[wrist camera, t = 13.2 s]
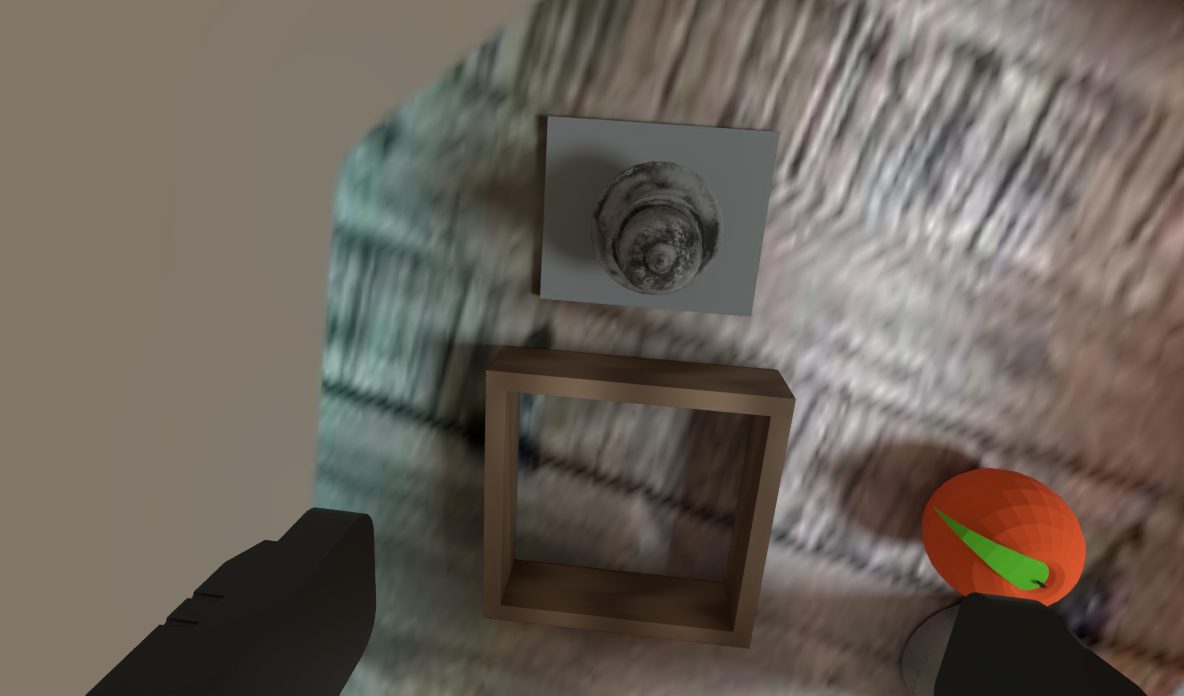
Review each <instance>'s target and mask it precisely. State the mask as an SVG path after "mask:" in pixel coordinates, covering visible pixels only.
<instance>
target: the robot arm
mask: <svg viewBox="0 0 1184 696" xmlns="http://www.w3.org/2000/svg"><path fill="white" fill-rule="evenodd" d="M375 613H376V584H375V555H374V529H373V522H372V519H371V517H370V516H369V515H368V514H363V513H356V512H348V511H340V510H332V509H324V508H311V509H310V510H308V511H307V512H306V513H305V514H304V515H303V516H302V517H301V518H300V519H299V520H298V521H297V522H296V523H295V524H294V525H293V526H292V527H291V528H290V529H289V530H288V531H287V532H286V533H285V534H284V535H283V536H282V537H281V538H280V539H279V540H278V541H270V540H264V541H262V542H261V543H259V544H257V545H255V546H253V547H251V548H250V549H248V550H247V551H244V552H242V553H241V554H239V555H237V556H235V557H234V558H232V559H230V560H228V561H226V562H225V563H224V564H223V565H222V566H220V567H219V568H218V569H217V570H216V571H215V572H214V573H213V574H212V575H211V576H210V577H209V578H208V579H207V580H206V581H205V582H204V583H203V584H202V585H201V586H200V587H199V588H198V589H196V590H195V591H194V594H193V597H192V598H191V599H190V598H187V599H186V600H185V601H184V602H183V603H182V604H181V605H180V606H178V607H177V608H176V609H175V610H174V611H173V612H172V613H171V614H170V615H169V616H168V617H167V620H166V623H165V624H164V625H159V626H158V627H156V628H155V629H154V630H153V631H152V632H151V633H150V634H149V635H148V636H147V637H146V638H145V639H144V640H143V641H142V642H141V643H140V644H139V645H138V646H137V647H136V648H134V649H133V650H132V652H130V653H129V654H128V655H127V656H126V657H125V658H124V659H123V660H122V661H121V662H120V663H119V664H118V665H117V666H116V667H114V668H113V669H112V670H111V671H110V672H109V673H108V674H107V675H106V676H105V677H104V678H103V679H102V680H101V681H100V682H99V683H98V684H97V685H96V686H95V687H94V688H93V689H92V690H90V691H89V692H88V693H87V694H86V695H85V696H339V695H340V693H341V691H342V690H343V688H344V686H345V684H346V683H347V681H348V679H349V677H350V676H351V674H352V672H353V671H354V669H355V667H356V665H357V664H358V662H359V660H360V658H361V657H362V655H363V653H364V651H365V649H366V646H367V644H368V641H369V639H370V636H371V632H372V629H373V625H374V620H375ZM901 666H902V673H903V678H904V681H905V683H906V685H907V688H908V690H909V692H910V694H911V696H1147V695H1146V694H1145V693H1144V692H1143V691H1142V689H1141V688H1140V687H1139V686H1138V685H1136V684H1135V683H1134V682H1132V681H1131V680H1130V679H1128V678H1127V677H1125V676H1124V675H1123V674H1121V673H1120V672H1119V671H1117V670H1116V669H1115V668H1113V667H1112V666H1111V665H1109V664H1108V663H1107V662H1105V661H1104V660H1103V659H1101V658H1100V657H1099V656H1097V655H1096V654H1095V653H1093V652H1092V651H1091V650H1089V649H1088V648H1087V647H1086V646H1085V645H1084V643H1083V642H1082V641H1081V640H1080V639H1079V638H1078V637H1077V636H1076V635H1075V633H1074V632H1073V631H1072V630H1070V629H1066V627H1065V626H1064V625H1063V624H1062V623H1061V622H1060V621H1059V619H1058V618H1057V617H1056V616H1055V615H1054V614H1053V613H1052V612H1051V610H1050V609H1049V608H1048V607H1047V606H1046V605H1044V604H1043V603H1041V602H1039V601H1037V600H1033V599H1025V598H1017V597H1009V596H1001V595H993V594H985V593H977V592H973V593H970V594H968V595H967V596H966V597H965V598H964V599H963V601H962V602H961V604H958V605H955V606H953V607H950V608H947V609H945V610H942V611H941V612H939V613H937V614H936V615H934V616H932V617H931V618H929V619H928V620H927V621H926V622H924V623H923V624H922V625H921V626H920V627H919V628H918V629H917V630H916V631H915V633H914V634H913V635H912V637H911V638H910V639H909V641H908V643H907V645H906V648H905V650H904V652H903V658H902V665H901Z"/></svg>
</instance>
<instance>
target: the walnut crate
mask: <svg viewBox="0 0 1184 696" xmlns="http://www.w3.org/2000/svg"><path fill="white" fill-rule="evenodd" d="M520 392H521V393H531V394H542V395H553V396H563V397H574V398H584V399H595V400H605V401H616V402H626V403H637V404H647V405H658V406H669V407H679V408H690V409H700V410H711V411H721V412H732V413H742V414H752V418H751V424H750V430H749V436H748V442H747V448H746V454H745V460H744V466H743V473H742V479H741V485H740V491H739V497H738V503H737V509H736V515H735V521H734V527H733V534H732V540H731V546H730V552H729V558H728V564H727V570H726V576H725V582H724V583H719V582H710V581H701V580H692V579H683V578H674V577H665V576H656V575H647V574H638V573H629V572H620V571H611V570H602V569H593V568H584V567H575V566H566V565H557V564H548V563H539V562H530V561H521V560H515V536H516V506H517V476H518V446H519V416H520ZM795 401H796V399H795V397H794V395H793V394H792V392H791V390H790V389H789V387H788V386H787V384H786V382H785V381H784V379H783V377H782V376H781V374H780V373H779V371H778V370H768V369H757V368H746V367H735V366H724V365H713V364H702V363H690V362H679V361H668V360H657V359H646V358H635V357H624V356H613V355H602V354H591V353H580V352H569V351H558V350H547V349H536V348H525V347H514V346H503V348H502V349H501V350H500V352H499V353H498V355H497V356H496V357H495V359H494V360H493V361H492V363H491V364H490V366H489V367H488V368H487V370H486V412H485V484H484V555H483V618H491V619H499V620H508V621H516V622H525V623H534V624H542V625H551V626H559V627H568V628H576V629H585V630H594V631H602V632H611V633H619V634H628V635H637V636H645V637H654V638H662V639H671V640H680V641H688V642H697V643H705V644H714V645H723V646H731V647H740V648H748V649H749V647H750V641H751V636H752V631H753V625H754V620H755V615H756V609H757V604H758V598H759V593H760V588H761V582H762V577H763V572H764V566H765V561H766V556H767V550H768V545H769V540H770V534H771V529H772V524H773V518H774V513H775V508H776V502H777V497H778V491H779V486H780V481H781V475H782V470H783V465H784V459H785V454H786V449H787V443H788V438H789V433H790V427H791V422H792V417H793V411H794V406H795Z"/></svg>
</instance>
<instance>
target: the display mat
mask: <svg viewBox="0 0 1184 696" xmlns="http://www.w3.org/2000/svg"><path fill="white" fill-rule="evenodd" d="M778 139H779V132H772V131H758V130H743V129H729V128H714V127H699V126H685V125H670V124H656V123H641V122H627V121H612V120H598V119H583V118H568V117H554V116H548V124H547V148H546V172H545V195H544V219H543V243H542V267H541V290H540V298H541V299H553V300H565V301H576V302H588V303H600V304H611V305H623V306H635V307H646V308H658V309H670V310H681V311H693V312H705V313H716V314H728V315H739V316H751V313H752V307H753V300H754V294H755V287H756V281H757V274H758V268H759V261H760V255H761V248H762V242H763V236H764V229H765V223H766V216H767V210H768V203H769V197H770V190H771V184H772V177H773V171H774V164H775V158H776V152H777V145H778ZM652 161H659V162H672V163H675V164H678V165H681V166H684V167H686V168H689V169H690V170H692V171H693V172H694V173H696V174H697V175H699V176H700V177H702V178H703V179H704V180H705V182H706V183H707V184H708V185H709V186H710V188H711V189H712V190H713V191H714V193H715V195H716V198H717V200H718V202H719V204H720V207H721V211H722V218H723V224H724V228H723V236H722V244H721V246H720V249H719V251H718V254H717V256H716V259H715V261H714V262H713V263H712V265H711V266H710V267H709V269H708V270H707V272H706V273H705V274H704V275H703V276H702V277H700V278H699V279H698V280H697V281H696V282H694V283H693V284H692V285H690V286H688V287H686V288H684V289H682V290H679V291H677V292H674V293H669V294H663V295H649V294H641V293H638V292H635V291H632V290H629V289H626V288H625V287H623V286H622V285H620V284H619V283H617V282H616V281H614V280H613V279H612V278H611V277H610V276H609V275H608V274H607V272H606V271H605V270H604V269H603V268H602V267H601V265H600V263H599V261H598V259H597V257H596V255H595V253H594V250H593V245H592V240H591V235H590V234H591V217H592V214H593V211H594V208H595V204H596V201H597V199H598V198H599V196H600V195H601V193H602V192H603V190H604V188H605V187H606V185H608V184H609V183H610V182H611V181H612V180H613V179H614V178H615V177H616V176H617V175H618V174H619V173H621V172H623V171H625V170H627V169H629V168H631V167H633V166H635V165H638V164H643V163H647V162H652Z"/></svg>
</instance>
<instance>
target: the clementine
mask: <svg viewBox="0 0 1184 696" xmlns="http://www.w3.org/2000/svg"><path fill="white" fill-rule="evenodd" d="M922 541H923V544H924V546H925V549H926V552H927V555H928V557H929V559H930V561H931V563H932V565H933V566H934V568H935V569H936V570H937V572H938V573H939V574H940V576H941V577H942V578H943V579H944V580H945V581H946V582H947V583H948V584H949V585H950V586H951V587H952V588H954V589H955V590H957V591H958V592H959V593H961V594H962V595H963V596H965V597H966V596H967V595H968V594H970V593H973V592H977V593H985V594H993V595H1001V596H1009V597H1017V598H1025V599H1033V600H1037V601H1039V602H1041V603H1043V604H1044V605H1046V606H1048V605H1050V604H1052V603H1054V602H1056V601H1058V600H1060V599H1061V598H1062V597H1064V596H1065V595H1066V594H1067V593H1069V592H1070V591H1071V589H1072V588H1073V587H1074V586H1075V584H1076V583H1077V582H1078V580H1079V578H1080V575H1081V573H1082V570H1083V566H1084V561H1085V551H1086V545H1085V542H1084V538H1083V534H1082V531H1081V528H1080V525H1079V522H1078V520H1077V518H1076V517H1075V515H1074V514H1073V512H1072V511H1071V509H1070V508H1069V507H1068V506H1067V504H1066V503H1065V502H1064V501H1063V500H1062V499H1061V497H1060V496H1059V495H1057V494H1056V493H1055V492H1053V491H1052V490H1051V489H1049V488H1048V487H1047V486H1045V485H1044V484H1042V483H1040V482H1039V481H1037V480H1035V479H1033V478H1031V477H1028V476H1026V475H1023V474H1021V473H1018V472H1013V471H1008V470H1001V469H993V468H986V469H975V470H971V471H968V472H965V473H962V474H959V475H957V476H955V477H953V478H951V479H950V480H948V481H946V482H945V483H944V484H942V485H941V486H940V487H939V488H938V489H937V490H936V491H935V492H934V493H933V495H932V496H931V498H930V499H929V501H928V502H927V504H926V506H925V509H924V513H923V516H922Z"/></svg>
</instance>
